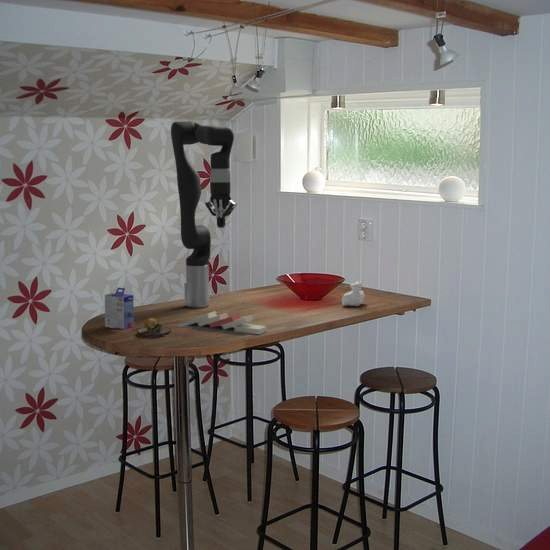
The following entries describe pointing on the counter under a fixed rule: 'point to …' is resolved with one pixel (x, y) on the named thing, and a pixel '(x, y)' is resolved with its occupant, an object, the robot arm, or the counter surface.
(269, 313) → the counter surface
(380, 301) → the counter surface
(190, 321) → the domino
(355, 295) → the duck figurine
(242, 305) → the counter surface
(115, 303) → the ink cartridge box
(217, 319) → the domino
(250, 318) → the domino
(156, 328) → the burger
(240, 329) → the domino
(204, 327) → the mat
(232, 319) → the red domino
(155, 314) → the counter surface
